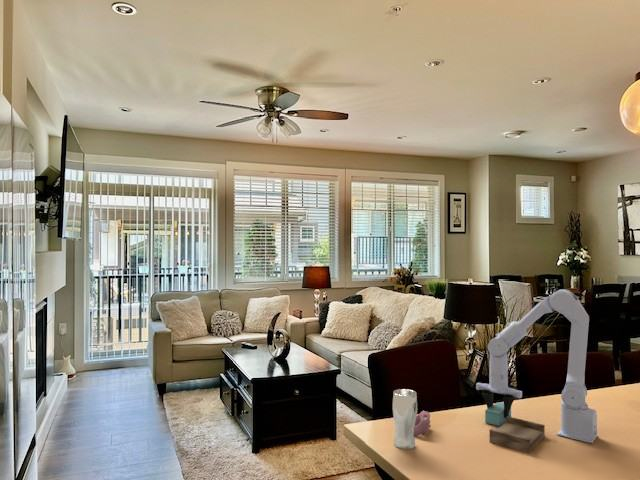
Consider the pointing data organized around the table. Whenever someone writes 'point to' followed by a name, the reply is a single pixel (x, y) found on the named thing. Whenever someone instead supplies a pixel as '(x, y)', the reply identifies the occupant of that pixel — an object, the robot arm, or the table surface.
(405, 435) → the beer glass
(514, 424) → the display stand
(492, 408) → the teal rectangular block
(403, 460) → the table surface
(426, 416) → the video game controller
